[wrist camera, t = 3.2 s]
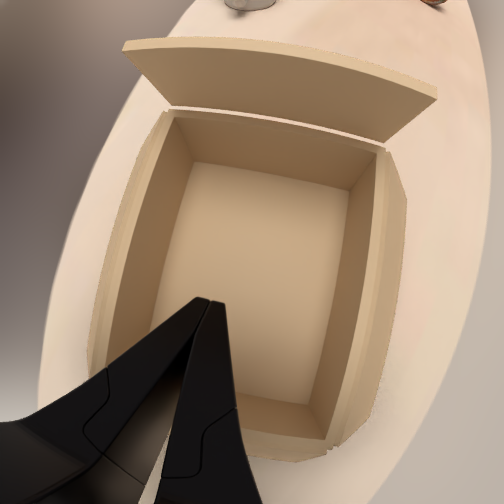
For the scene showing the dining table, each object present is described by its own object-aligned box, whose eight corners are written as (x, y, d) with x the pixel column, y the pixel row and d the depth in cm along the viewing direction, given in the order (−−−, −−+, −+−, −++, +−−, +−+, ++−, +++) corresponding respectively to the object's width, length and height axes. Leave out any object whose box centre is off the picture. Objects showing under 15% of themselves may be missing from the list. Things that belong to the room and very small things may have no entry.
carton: (346, 458, 19) (373, 503, 12) (90, 395, 20) (40, 416, 13) (399, 201, 23) (442, 166, 15) (147, 152, 24) (115, 106, 17)
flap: (384, 134, 15) (383, 143, 16) (173, 97, 16) (171, 105, 16) (436, 87, 9) (437, 99, 9) (126, 40, 9) (121, 51, 10)
